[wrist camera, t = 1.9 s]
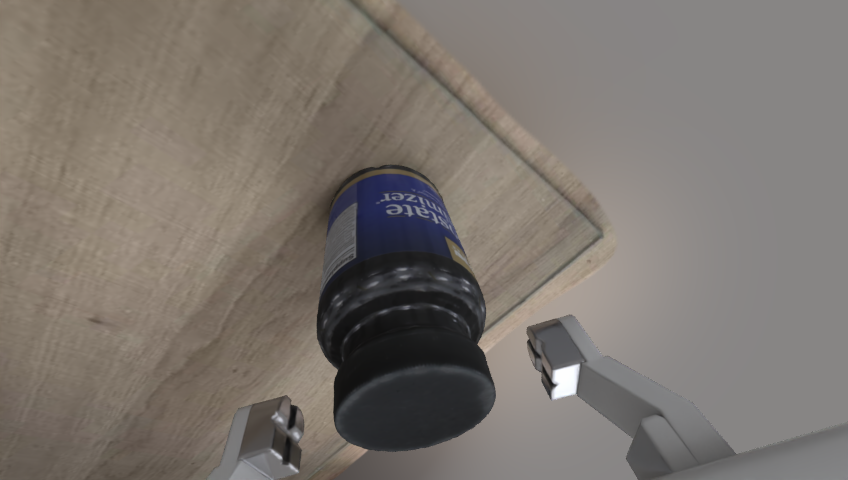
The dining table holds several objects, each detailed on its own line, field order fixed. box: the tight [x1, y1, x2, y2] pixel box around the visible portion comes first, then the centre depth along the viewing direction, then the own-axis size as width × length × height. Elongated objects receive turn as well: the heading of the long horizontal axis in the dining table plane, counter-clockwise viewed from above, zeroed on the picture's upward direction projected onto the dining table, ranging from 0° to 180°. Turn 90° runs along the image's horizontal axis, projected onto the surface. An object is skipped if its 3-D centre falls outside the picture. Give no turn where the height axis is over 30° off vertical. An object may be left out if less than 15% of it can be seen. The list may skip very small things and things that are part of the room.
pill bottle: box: [317, 165, 496, 452], centre depth 14 cm, size 6×6×11 cm
